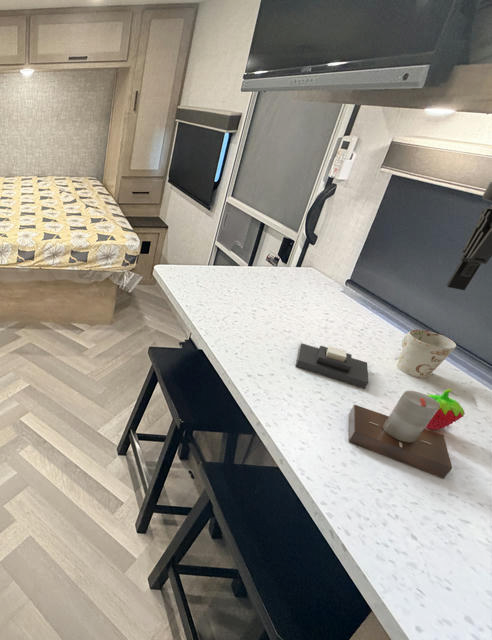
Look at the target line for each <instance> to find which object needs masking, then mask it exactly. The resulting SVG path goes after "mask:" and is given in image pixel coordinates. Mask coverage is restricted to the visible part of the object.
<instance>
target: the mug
mask: <svg viewBox="0 0 492 640" xmlns="http://www.w3.org/2000/svg"><path fill="white" fill-rule="evenodd" d="M456 347H457V344H456V343H455V341H454V340H452V339H450V338H449V337H447V336H446V335H442V334H439V333H437V332H433V331H430V330H425V329H411V330H409V331H408V332H407V333H406V334H405V335H404V336H403V338H402V340H401V352H400V354H399V358H398V360H397V363H396V367H397V369H398V370H399V371H401V372H402V373H404V374H406V375H408V376H412V377H416V378H418V379H419V378H420V379H426V378H428V377H430V375H432V373H434V371H435V370H436V369H437V368H439V366H440V365H441V364H442V363H443V362H444V361H445V360H446V359H447V358H448V356H450V355H451V354H452V352H453V351H454V350H455V349H456Z"/></svg>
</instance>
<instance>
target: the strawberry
mask: <svg viewBox="0 0 492 640" xmlns="http://www.w3.org/2000/svg"><path fill="white" fill-rule="evenodd" d="M452 391H453V389H452V388H447V389H445V390H444V391H443V393H442V394H441V395H438V394H431V393H429V394H427V395H428V396H430V397H432V398H433V399H435V400H436V401H437V402H438V403H439V404H440V407H439V409H438V410H437V412H436V413H435V415H434V416H433V417H432V419H431V420H430V422H429V423H428V424H427V426H426V427H425V428H426V429H427V430H431V431H433V430H441V429H445V428H446V427H449V426H450V425H453V423H456V421H457V422H458V421H459V420H460V419H462V418H464V416H465V414H466V413H465V409H464V408H463V407H462V405H461V404H460V403H459V402H458V401H457V400H455V399H453V398H451V397H450V393H451V392H452Z"/></svg>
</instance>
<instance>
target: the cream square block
mask: <svg viewBox="0 0 492 640" xmlns="http://www.w3.org/2000/svg"><path fill="white" fill-rule="evenodd" d="M327 348H328V349H327V351H326V357H328V358H332V359H335V360H338V361H342V362H344V361H345V359H346V353H347V350H345V349H342V348H338V347H335V346H331V345H328V347H327Z"/></svg>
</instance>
